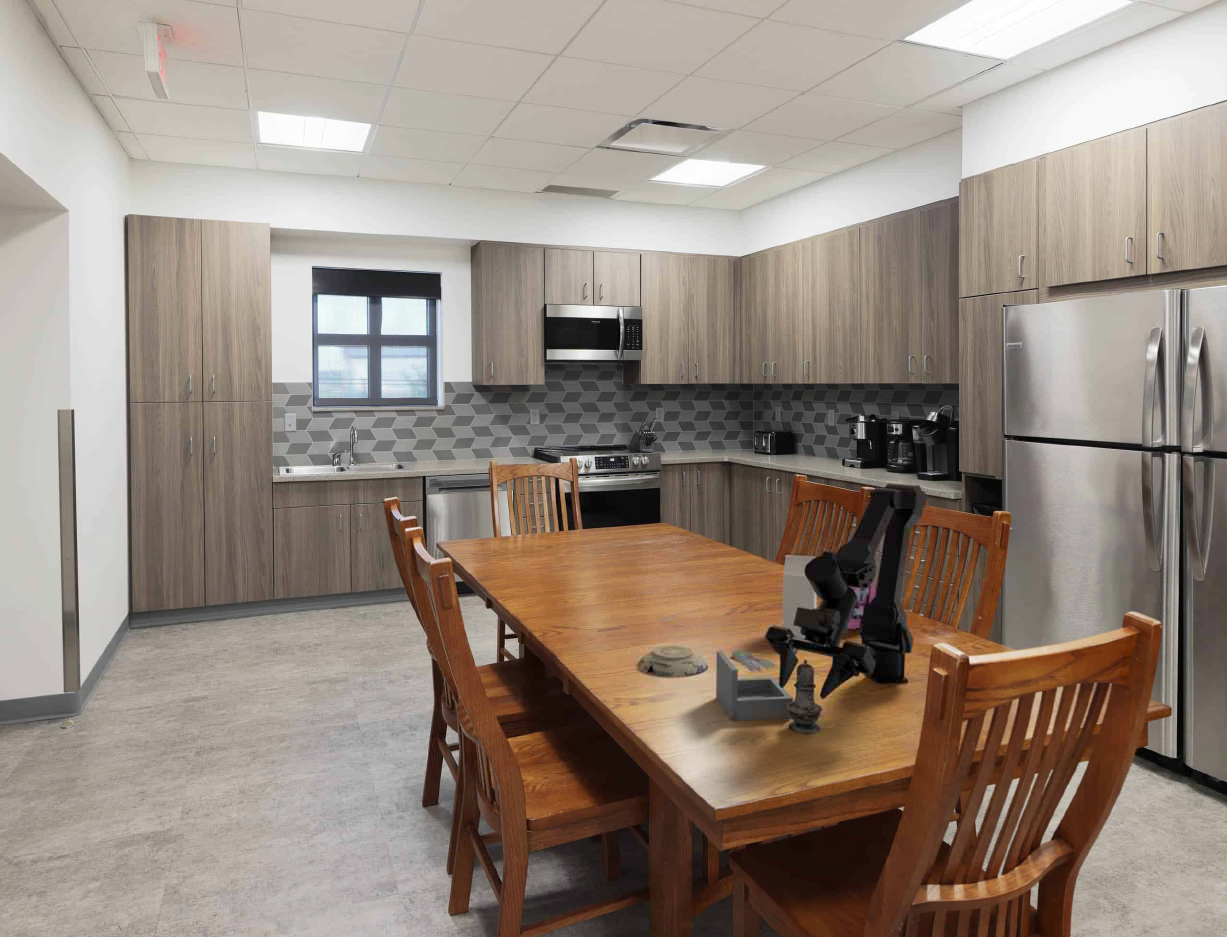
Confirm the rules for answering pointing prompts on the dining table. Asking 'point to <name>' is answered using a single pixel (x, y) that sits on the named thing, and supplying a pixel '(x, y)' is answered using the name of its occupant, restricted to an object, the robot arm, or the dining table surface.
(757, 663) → the leaf
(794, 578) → the milk carton
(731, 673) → the shaker rack
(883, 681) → the robot arm
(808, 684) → the salt shaker
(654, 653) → the decorative bowl
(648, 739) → the dining table surface
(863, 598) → the gum box
